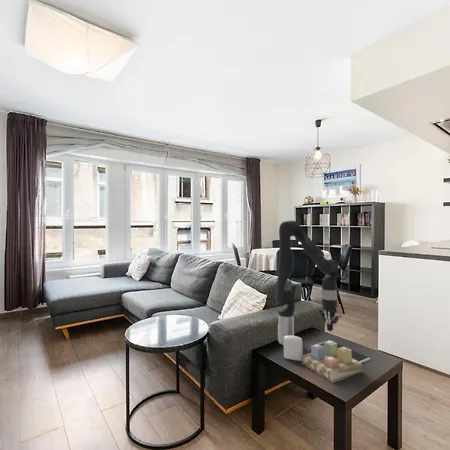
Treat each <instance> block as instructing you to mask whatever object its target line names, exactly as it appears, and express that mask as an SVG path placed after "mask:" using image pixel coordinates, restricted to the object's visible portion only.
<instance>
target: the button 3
mask: <svg viewBox="0 0 450 450" xmlns="http://www.w3.org/2000/svg"><path fill="white" fill-rule="evenodd" d="M324 361H325V365H326V366H327V367H329V368H331V369H334V368H337V367H339V360H337V359H335V358H334V357H332V356H331V357H328V358H324Z"/></svg>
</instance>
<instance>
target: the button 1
mask: <svg viewBox="0 0 450 450" xmlns="http://www.w3.org/2000/svg"><path fill="white" fill-rule="evenodd" d="M319 344H320V343H316V344H312V345H310V353H311V357H312V358H314V359H315V360H317V361H319V360H322V359H324V358H325V355H324V347H323V346H321V345H319Z"/></svg>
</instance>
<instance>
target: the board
mask: <svg viewBox="0 0 450 450" xmlns="http://www.w3.org/2000/svg"><path fill="white" fill-rule="evenodd" d="M324 355H325V358H328V357H330V356H328V355H326V354H325V353H324ZM332 357H334V358H335V359H337V360H338V351H337V355H335V356H332ZM301 363H302V365H303V366H304V365H305V367H307V368H308V369H309V368H310V369H309V370H311V371H312V370H313V372H314V373H316V374H317V373H318V374H317V375H319V376H320V375H321V377H322V378H324V379H325V380H327V381H328V382H330V383H332V384H334V383H337V382H339V381H342V380H344V379H348V378H349V377H353V376H355V375H358V374H360V373H362V372H363V367H362V366H363V362H362V363H361V362H359V361H357V360H355V359H353V358H352V362H351V363H348V364H344V363H342V362H340V361H339V367H337V368H334V369H331V368H329V367H327V366H326V365H325V361H324V359H322V360H319V361H317V360H315V359H314V358H312V357H311V352H310V353H306V354H303V356H302V361H301Z"/></svg>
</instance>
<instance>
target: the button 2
mask: <svg viewBox="0 0 450 450" xmlns="http://www.w3.org/2000/svg"><path fill="white" fill-rule="evenodd" d="M323 342H324V353H325V354H326V355H328V356H330V357H331V356H335V355H337V343H338V342H335V341H333V340H326V341H323Z"/></svg>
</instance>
